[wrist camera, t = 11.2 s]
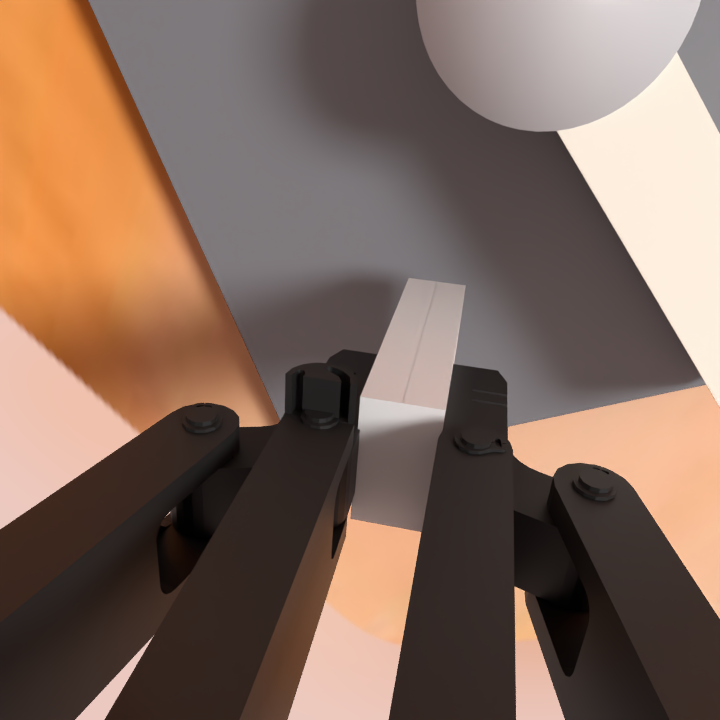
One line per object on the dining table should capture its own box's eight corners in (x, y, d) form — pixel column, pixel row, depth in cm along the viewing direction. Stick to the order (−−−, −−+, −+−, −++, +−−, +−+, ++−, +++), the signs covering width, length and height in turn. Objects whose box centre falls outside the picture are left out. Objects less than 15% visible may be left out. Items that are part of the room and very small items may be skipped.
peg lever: (182, -371, 14) (70, -515, 10) (371, -622, 12) (314, -907, 8) (662, 407, 19) (698, 490, 15) (851, 321, 17) (942, 393, 13)
